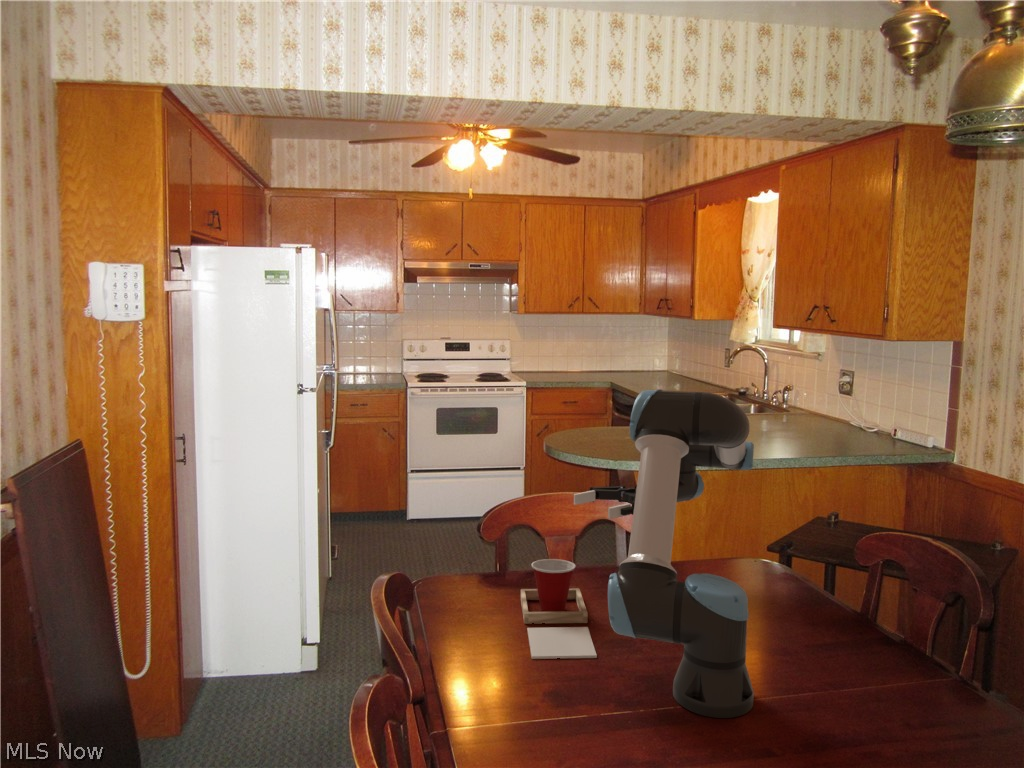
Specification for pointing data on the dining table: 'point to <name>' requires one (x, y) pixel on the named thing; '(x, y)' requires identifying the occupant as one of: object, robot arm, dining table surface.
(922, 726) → the dining table surface
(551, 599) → the plastic cup
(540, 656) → the white tile
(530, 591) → the birch collar
